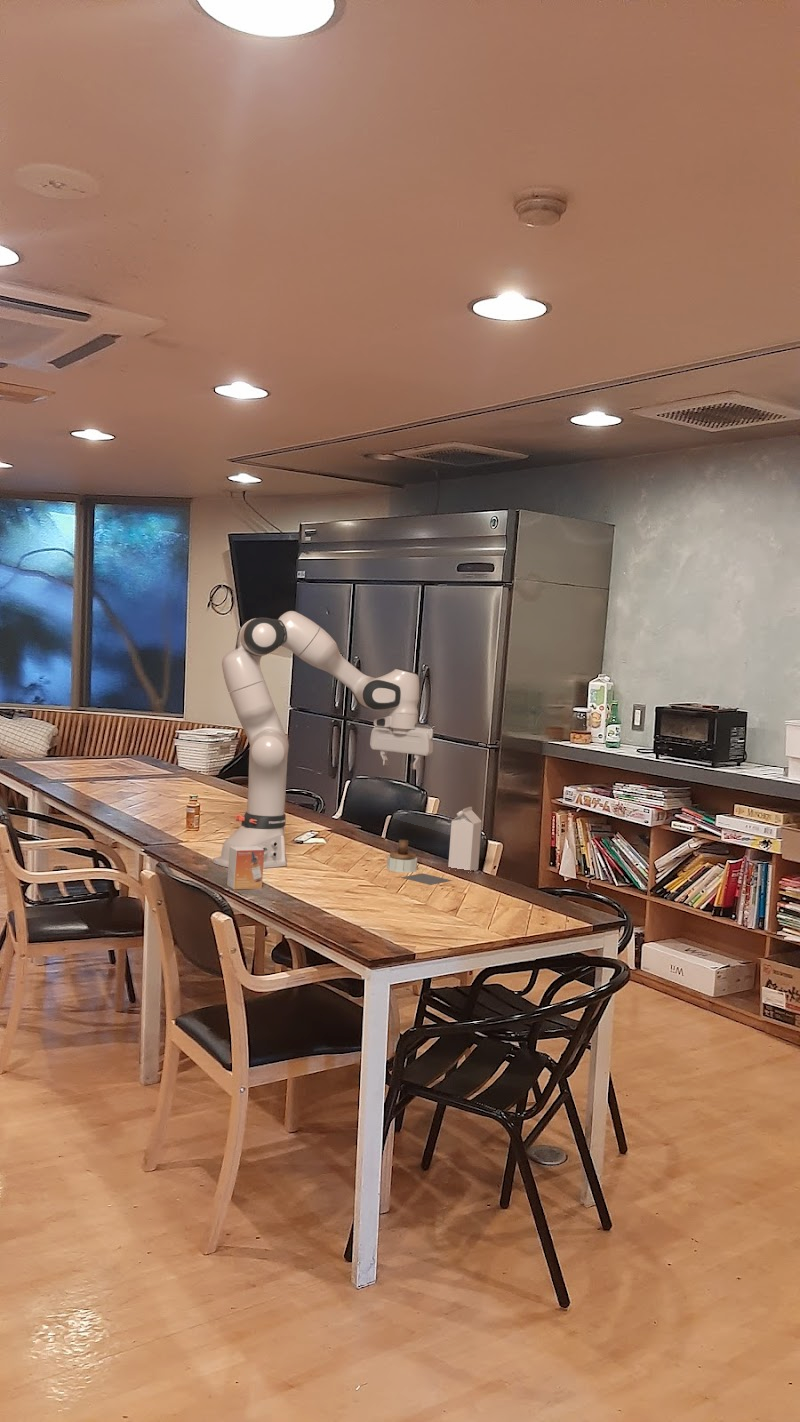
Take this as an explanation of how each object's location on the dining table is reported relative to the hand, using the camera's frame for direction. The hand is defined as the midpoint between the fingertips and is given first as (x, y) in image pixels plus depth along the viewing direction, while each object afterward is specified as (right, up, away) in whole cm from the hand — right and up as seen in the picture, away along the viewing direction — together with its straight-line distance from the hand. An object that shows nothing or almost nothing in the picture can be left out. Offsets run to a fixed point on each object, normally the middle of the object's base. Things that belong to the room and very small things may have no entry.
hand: (399, 767), depth 333 cm
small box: (-41, -30, -45) cm, 68 cm away
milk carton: (+19, -31, -4) cm, 37 cm away
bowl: (+1, -30, -11) cm, 32 cm away
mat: (+8, -31, -22) cm, 39 cm away
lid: (+1, -26, -11) cm, 28 cm away
